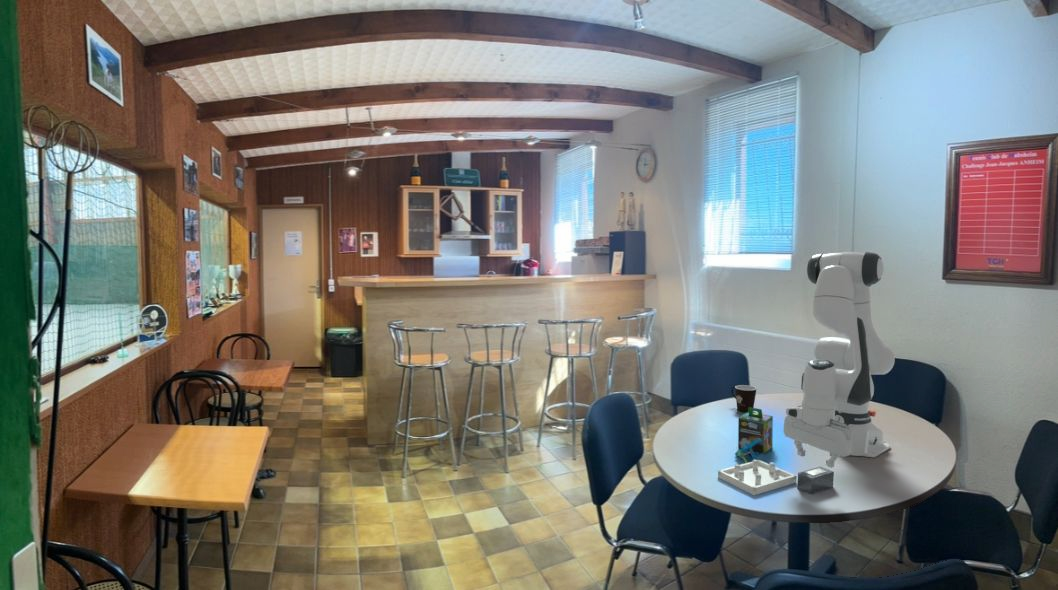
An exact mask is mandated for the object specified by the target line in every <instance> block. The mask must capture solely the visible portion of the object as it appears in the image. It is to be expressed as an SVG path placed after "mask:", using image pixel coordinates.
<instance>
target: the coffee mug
mask: <svg viewBox="0 0 1058 590" xmlns="http://www.w3.org/2000/svg"><path fill="white" fill-rule="evenodd" d="M733 390H734V391H735V394H734V391H733ZM730 392H731V394H732V396H733V397H734V399H735V401H736V410H737V412H740V413H743V414H746V413H747V412H749V411H748V408H749V407H751V408H755V401H756V395H757V387H756V386H753V385H748V384H747V385H746V384H745V385H744V384H740V385H739V384H738V385H735V386H733V387H732V388H731V391H730ZM752 413H754V411H752Z"/></svg>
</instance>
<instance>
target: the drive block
mask: <svg viewBox="0 0 1058 590" xmlns="http://www.w3.org/2000/svg"><path fill="white" fill-rule="evenodd" d="M834 475H835V471H833V470H830V469H828V468H825V467H823V466H817V467H814V468H810V469H805V470H803V471H800V472H798V473H797V487H796V488H797V489H798V490H800V491H803V492H805V493H807V494H809V495H813V494H816V493H820V492H823V491H826V490H829V489H832V488H834V480H835V479H834Z"/></svg>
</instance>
